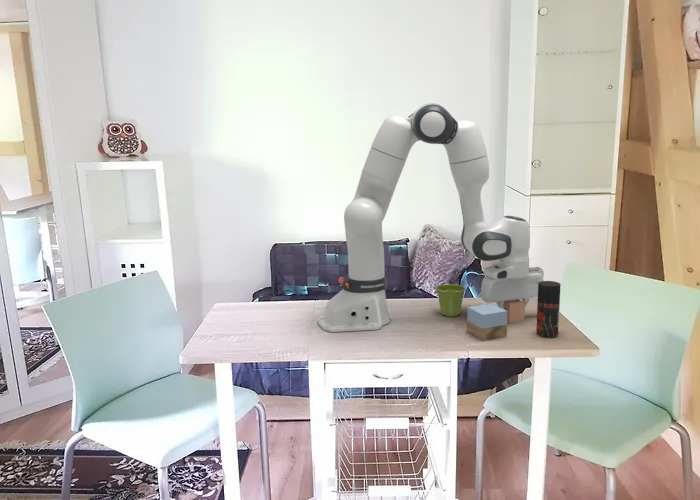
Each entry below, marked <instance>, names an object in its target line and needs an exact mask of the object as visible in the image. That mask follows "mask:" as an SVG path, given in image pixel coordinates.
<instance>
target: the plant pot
mask: <svg viewBox="0 0 700 500" xmlns="http://www.w3.org/2000/svg"><path fill="white" fill-rule="evenodd" d="M466 289H467V288H466V287H465V286H464V285H462V284H461V285H460V284H454V283H453V284H452V283H451V284H448V283H447V284H440V285H437V286H435V290H436V293H437V295H438V300H439V302H438V303H439V310H440V314H441V315H442V316H446V317H456V316H458V315H459V316H460V315H461V311H462V304H463V303H462V302H463V299H464V294H465V291H466Z"/></svg>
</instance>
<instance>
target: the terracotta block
mask: <svg viewBox="0 0 700 500" xmlns="http://www.w3.org/2000/svg"><path fill="white" fill-rule="evenodd" d="M524 304H525V302H523V300H521V299H517V300H508V301H504V304H502V305H503V307H504V308H505V309H507V324H508V323H509V324H513V323H521V322H524V321H525V312H524Z"/></svg>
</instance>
